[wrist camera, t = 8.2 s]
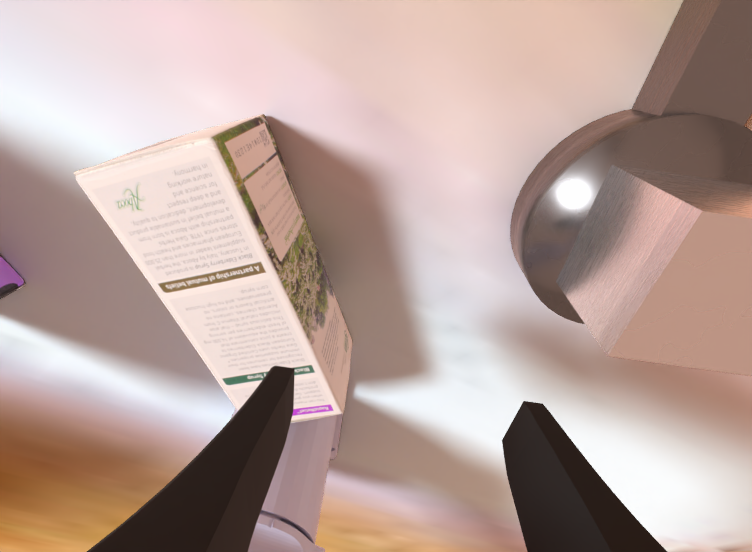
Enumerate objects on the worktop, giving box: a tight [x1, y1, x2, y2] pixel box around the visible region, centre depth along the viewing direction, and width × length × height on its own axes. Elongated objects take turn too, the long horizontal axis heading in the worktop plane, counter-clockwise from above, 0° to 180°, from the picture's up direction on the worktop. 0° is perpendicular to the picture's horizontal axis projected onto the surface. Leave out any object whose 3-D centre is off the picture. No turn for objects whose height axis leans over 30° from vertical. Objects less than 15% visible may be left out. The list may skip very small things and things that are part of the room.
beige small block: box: [556, 164, 752, 376], centre depth 14 cm, size 6×6×5 cm
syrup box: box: [74, 114, 353, 423], centre depth 18 cm, size 6×6×14 cm
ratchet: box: [510, 0, 752, 324], centre depth 12 cm, size 20×10×6 cm, turn 172°
